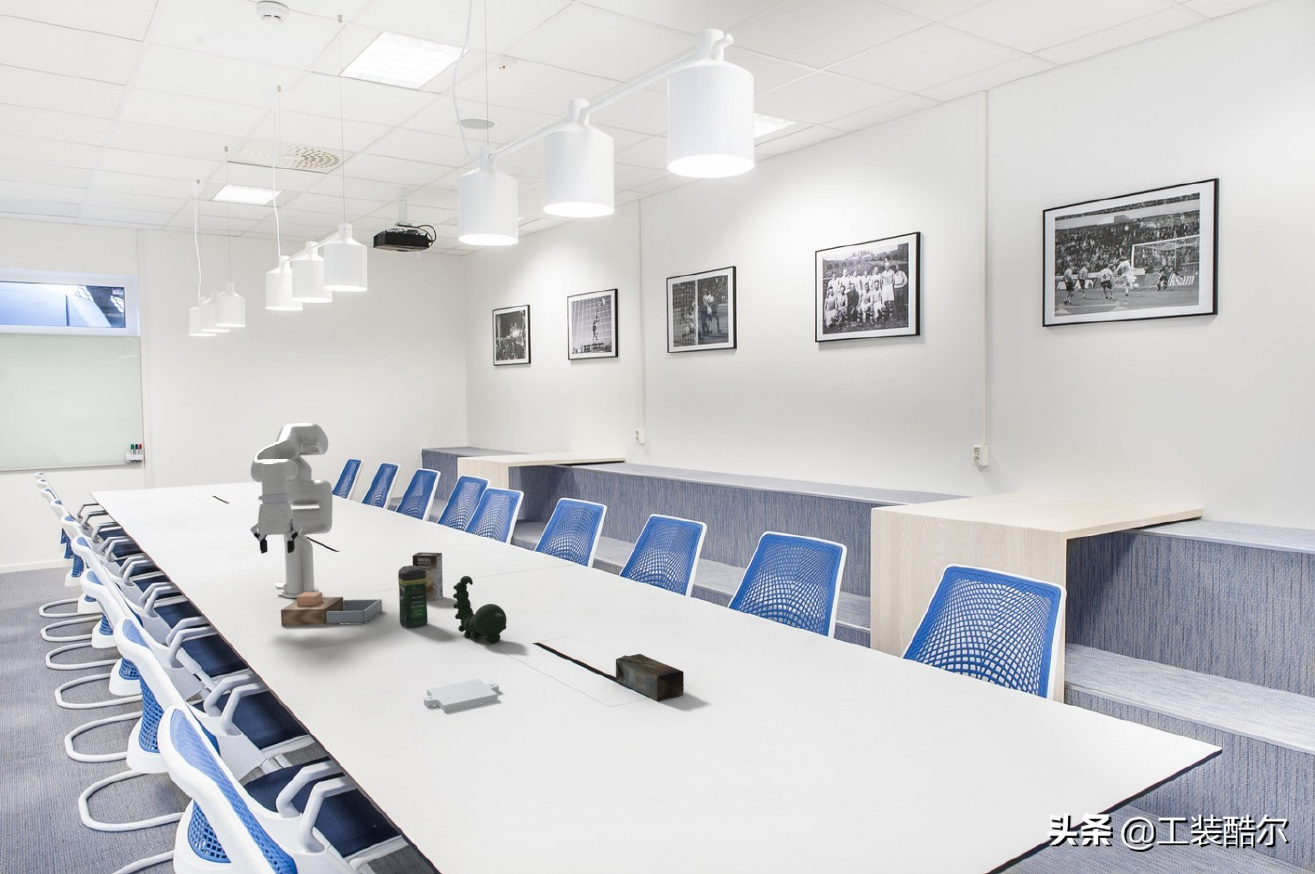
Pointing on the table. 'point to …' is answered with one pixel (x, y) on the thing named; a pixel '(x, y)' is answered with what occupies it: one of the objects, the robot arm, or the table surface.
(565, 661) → the table surface
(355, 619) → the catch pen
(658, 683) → the dark brown boxy piece
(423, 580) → the coffee jar
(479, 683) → the mounting plate
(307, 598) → the block
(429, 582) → the coffee box
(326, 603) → the platform
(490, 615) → the toy figurine
